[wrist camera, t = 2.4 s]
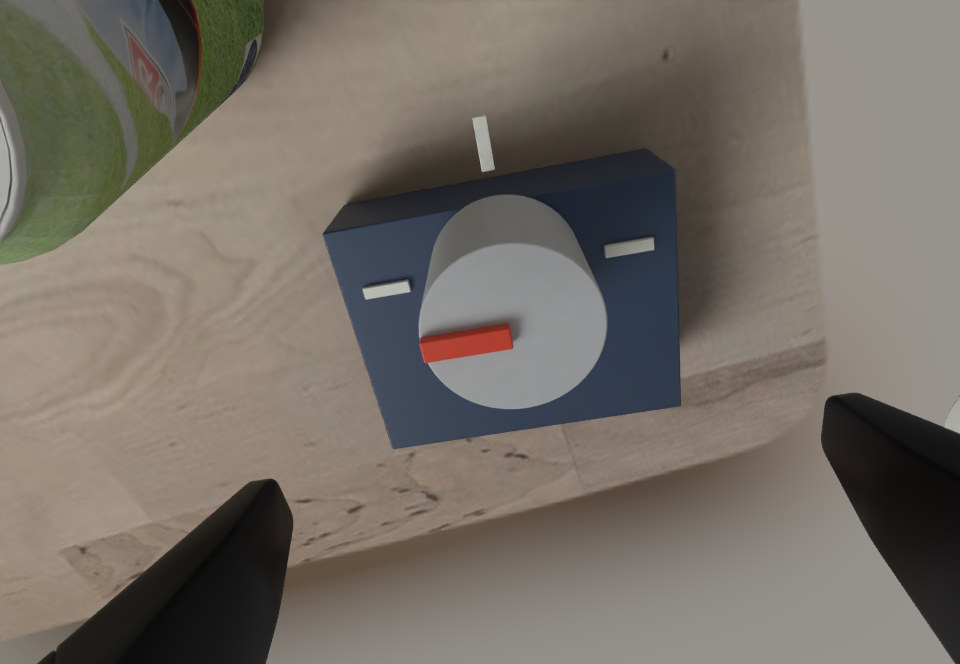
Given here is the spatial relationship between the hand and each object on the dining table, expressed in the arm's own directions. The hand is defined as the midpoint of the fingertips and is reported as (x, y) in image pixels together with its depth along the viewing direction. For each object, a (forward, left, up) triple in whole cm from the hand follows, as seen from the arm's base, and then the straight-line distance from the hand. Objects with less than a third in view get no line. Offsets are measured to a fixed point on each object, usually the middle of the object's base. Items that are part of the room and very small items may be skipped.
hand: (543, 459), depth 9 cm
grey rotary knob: (0, 0, -8) cm, 8 cm away
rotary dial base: (0, +1, -12) cm, 12 cm away
